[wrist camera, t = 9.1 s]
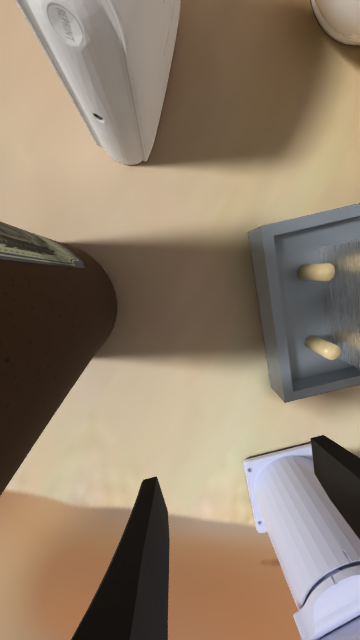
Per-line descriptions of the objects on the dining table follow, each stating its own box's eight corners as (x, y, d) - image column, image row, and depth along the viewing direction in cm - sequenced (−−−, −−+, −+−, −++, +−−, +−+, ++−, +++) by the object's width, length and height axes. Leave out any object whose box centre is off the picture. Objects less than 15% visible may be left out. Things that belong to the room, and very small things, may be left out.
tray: (414, 352, 21) (462, 368, 18) (271, 387, 21) (291, 410, 18) (416, 192, 18) (475, 174, 15) (247, 232, 18) (267, 223, 15)
